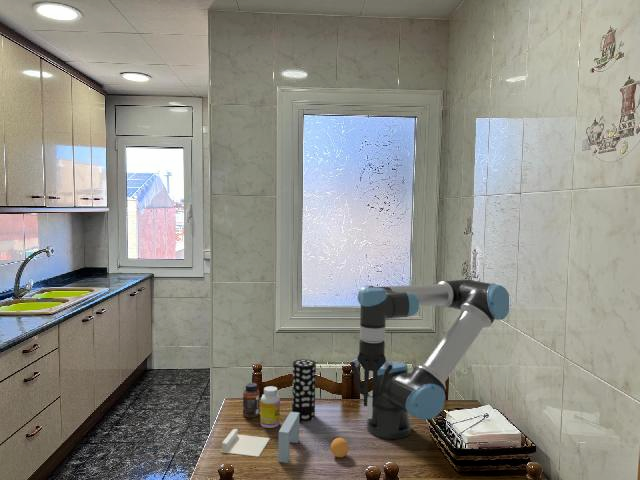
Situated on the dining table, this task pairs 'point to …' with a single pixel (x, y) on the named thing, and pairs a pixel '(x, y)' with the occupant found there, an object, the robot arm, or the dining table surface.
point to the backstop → (229, 439)
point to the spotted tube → (304, 389)
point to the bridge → (288, 436)
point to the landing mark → (247, 445)
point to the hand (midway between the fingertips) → (369, 416)
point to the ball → (339, 447)
